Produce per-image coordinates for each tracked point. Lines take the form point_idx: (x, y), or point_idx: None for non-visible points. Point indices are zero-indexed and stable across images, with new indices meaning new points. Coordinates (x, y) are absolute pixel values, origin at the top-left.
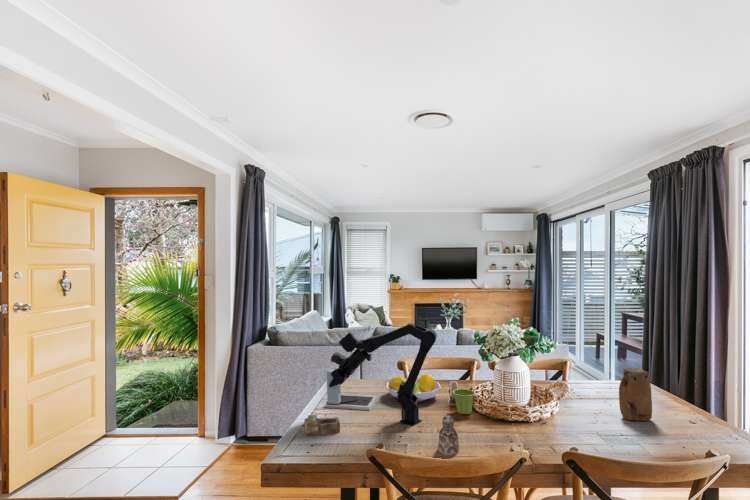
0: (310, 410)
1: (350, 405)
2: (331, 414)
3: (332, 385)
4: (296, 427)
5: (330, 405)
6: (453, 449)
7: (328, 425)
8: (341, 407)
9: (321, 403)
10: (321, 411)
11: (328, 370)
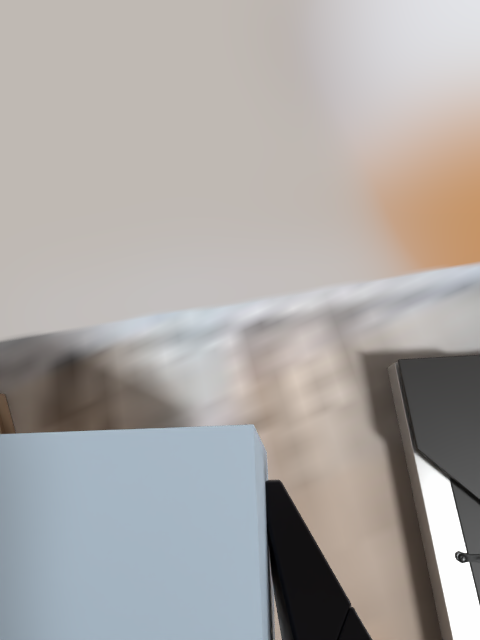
0: (301, 297)
1: (454, 586)
2: (272, 463)
3: None
4: (37, 337)
5: (400, 400)
6: None
7: None
8: (415, 495)
9: (447, 308)
10: (306, 370)
11: (127, 451)
